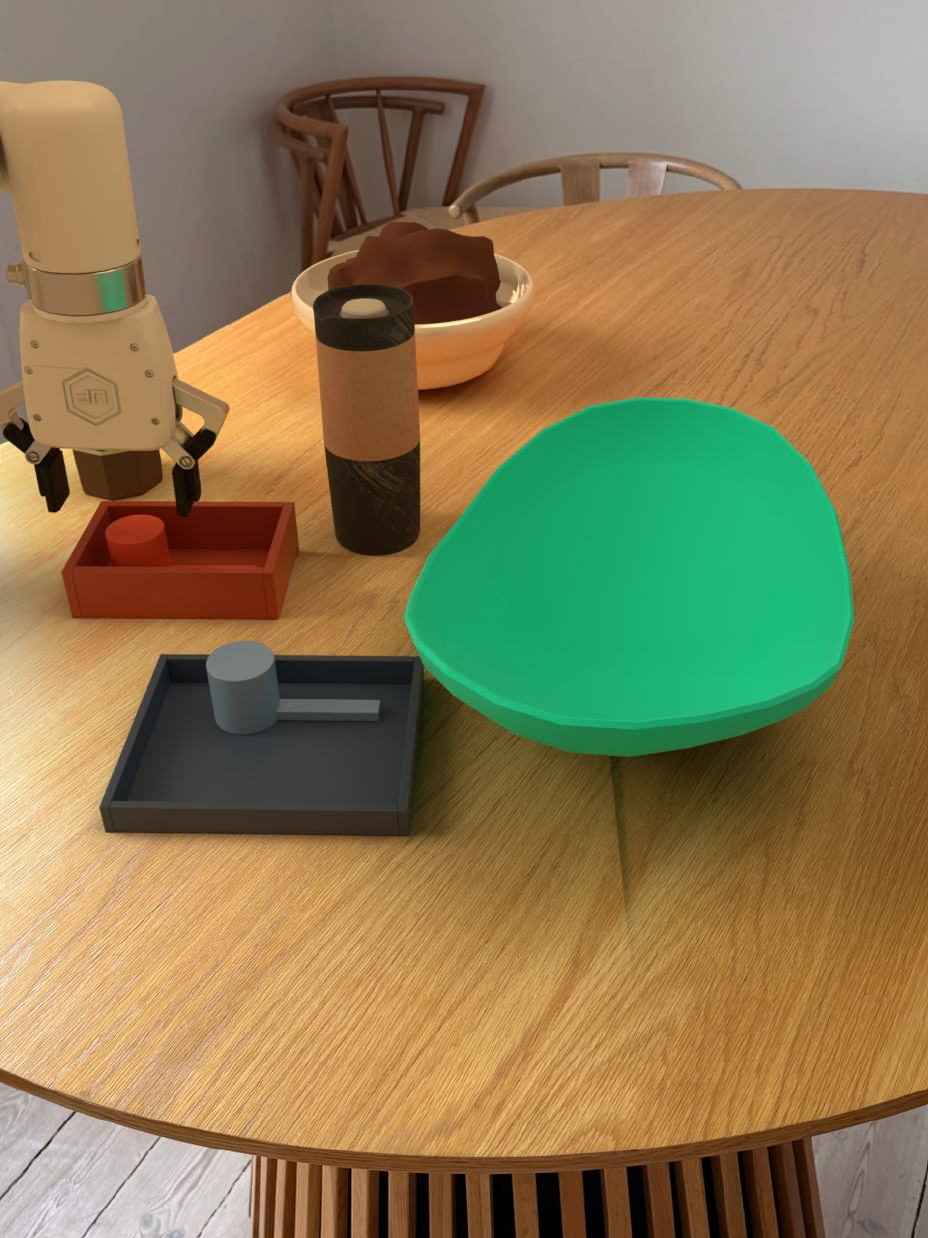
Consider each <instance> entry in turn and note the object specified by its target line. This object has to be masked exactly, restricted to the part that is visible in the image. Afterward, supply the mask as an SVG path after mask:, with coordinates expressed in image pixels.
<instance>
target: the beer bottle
mask: <svg viewBox="0 0 928 1238" xmlns="http://www.w3.org/2000/svg"><path fill="white" fill-rule="evenodd" d="M160 450H161V449H158V450H152V451H122V450H89V449H71V451H72V455H73V459H74V462H75V467H76V470H77V474H78V477H79V481H80V484H81V487H82V491H83V492H84V494H85V495H87V496H90V497H91V496H92V497H96V498H100V499H105V500H108V501H116V500H120V499H125V498H130V497H131V498H132V497H135V496H136V497H137V496H141V495H144V494H147V492H148V491H150V490H151V489H152V488H154V487H155V486H157V485H158V484H160V483H161V482H162V481H163V477H164V474H163V465H162V464H163V463H162V457H161V452H160Z"/></svg>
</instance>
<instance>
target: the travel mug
mask: <svg viewBox="0 0 928 1238" xmlns="http://www.w3.org/2000/svg"><path fill="white" fill-rule="evenodd" d="M313 312H314V321H315V334H316V339H315V344H316V360H317V371H318V386H319V397H320V411H321V425H322V436H323V448H324V455H325V463H326V472H327V480H328V488H329V495H330V496H329V498H330V505H331V512H332V520H333V527H334V534H335V538H336V540H337V542H338V543H339V545H340V546H341V547H343V548H345V549H347V550H348V551H350V552H352V553H353V552H354V553H356V554H362V555H368V556H369V555H370V556H371V555H372V556H378V555H379V556H380V555H381V556H382V555H388V554H394V553H396V552H400V551H403V550H405V549H407V548H408V547H410V546H412V545H413V544H414V543H415V542H416V541H417V540H418V539H419V536H420V533H421V428H420V427H421V426H420V405H419V403H420V402H419V390H418V383H417V362H416V341H415V320H414V302H413V298H412V296H411V295H410V294H409V293H408V292H406V291H405V290H402V289H400V288H397V287H393V286H388V285H381V284H356V285H348V286H342V287H338V288H334V289H331V290H328V291H326V292H324V293H322V294H321V295H319V296H318V297H317V298H316V299H315V301H314V303H313Z"/></svg>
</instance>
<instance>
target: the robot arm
mask: <svg viewBox="0 0 928 1238" xmlns="http://www.w3.org/2000/svg"><path fill="white" fill-rule="evenodd" d="M127 144H128V143H127V137H126V129H125V122H124V116H123V111H122V108H121V105H120V102H119V100H118V99H117V97H116V96H115V95H114V93H112V92H111V91H110V90H109V89H108V88H106V87H104V86H103V85H101V84H97V83H93V82H89V81H83V80H62V79H61V80H60V79H59V80H43V81H36V82H29V83H17V82H10V81H5V80H0V193H1V192H7V193H9V194H10V195H11V199H12V205H13V210H14V215H15V220H16V226H17V231H18V237H19V242H20V248H21V252H22V258H23V259H22V260H21V261H19V262H18V263H7V265H6V268H5V276H6V280H7V283H8V284H9V285H19V286H20V287H24V289H25V290H26V295H27V299H28V300H27V301H25V302H24V303H23V304H22V305H21V306H20V308H19V309H20V311H19V347H20V351H19V352H20V364H21V365H20V366H21V367H20V368H21V377H22V378H21V379H22V380H20V381H18V382H16V383H14V384H12V385H10V386H8V387H7V388H4V389H2V390H1V391H0V429H1V430H2V436H3V438H4V439H5V440H6V441H7V442H9V443H10V444H12V445H13V446H14V447H15V448H17V449H18V450H19V451H20V452H22V453H23V454H24V458H25V460H26V461H27V462H28V464H30V465H33V467H34V473H35V478H36V482H37V487H38V491H39V495H40V497H44V498H45V502H46V507H47V512H48V513H51V514H53V513H55V514H56V513H58V512H60V511H61V509H62V507H63V506H64V504H65V502H66V501H67V499H68V498H69V496H70V494H71V489H70V485H69V479H68V474H67V469H66V462H65V458H64V452H63V450H61V449H66V450H67V449H68V450H72V449H89V450H122V451H152V450H158V449H159V450H161V449H162V450H163V451H164V452H165V453H166V455H168V456H169V458H171V459H172V460H173V461H174V463H175V464H174V466H173V468H172V469H171V470H172V471H171V477H172V478H171V479H172V484H173V493H174V498H175V500H174V501H176V508H177V514H178V515H180V517H188V515H189V513H190V511H191V508H192V506H193V504H194V501H201V497H202V484H201V474H200V467H199V465H200V464H199V460H200V459H201V458H202V457H203V456H204V455H205V454H206V453H207V452H208V451H209V450H210V449H211V448H212V447H213V446H214V445H215V443H216V441H217V439H218V436H219V434H220V432H221V429H222V428H223V426H224V423H225V422H226V419H227V417H228V415H229V412H230V409H231V408H230V405H229V404H228V403H227V402H226V401H223V400H221V399H220V398H217V397H216V396H213V395H211V394H209V393H207V392H205V391H203V390H201V389H199V388H197V387H195V386H193V385H190V384H188V383H187V382H185V381H182V380H180V379H179V374H178V370H177V369H178V368H177V365H176V360H175V355H174V351H173V348H172V343H171V339H170V337H169V333H168V329H167V325H166V323H165V320H164V316H163V314H162V310H161V308H160V306H159V303H158V301H157V298H156V297H155V296H154V295H152V294H148V293H147V287H146V279H145V271H144V264H143V257H142V249H141V242H140V235H139V227H138V220H137V213H136V204H135V197H134V189H133V181H132V175H131V167H130V160H129V151H128V145H127ZM23 404H25V411H26V417H27V420H28V421H26V420H25V419H24V418H22V417H19V415H18V412H17V411H16V408H17V407H20V406H21V405H23ZM183 409H185V410H189V412H192V413H194V414H196V415H198V416H200V417H202V419H203V421H204V423H203V425H202V426H201V428H200V429H199V430H198V431H196V433H195V434H194V433H193V432H192V431H191V430H190V429H189V428H188V427H186V425H185V424H184V423H183V422H182V419H183V414H184V413H183V411H184V410H183Z"/></svg>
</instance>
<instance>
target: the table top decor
mask: <svg viewBox="0 0 928 1238" xmlns="http://www.w3.org/2000/svg"><path fill="white" fill-rule="evenodd" d="M844 542H845V541H844V537H843V532H842V528H841V523H840V519H839V514H838V513H837V510H836V509H835V507H834V505H833V503H832V500H831V499H830V497H829V494H828V493H827V492H826V490H825V487H824V486H823V484H822V481H821V480H820V478H819V476H818V474H817V472H816V471H815V468H814V466H813V465H812V464H811V462H810V461H809V460H808V459H806V457H805V456H803V455H802V453H800V451H798V450H797V449H796V448H795V446H793V444H792V443H791V442H789V440H787V438H785V436H783V435H782V433H780V432H779V431H778V430H777V428H775V427H774V426H771V425H770V424H767V423H766V422H764V421H761V420H759V419H756V418H755V417H753V416H750V415H748V414H746V413H744V412H742V411H740V410H738V409H735V408H734V407H729V406H725V405H719V404H714V403H709V402H705V401H699V400H695V399H690V398H673V397H645V396H644V397H643V396H642V397H641V396H638V397H632V398H626V399H621V400H615V401H609V402H603V403H599V404H593V405H589V406H587V407H585V408H583V409H581V410H578V411H576V412H575V413H573V414H571V415H569V416H567V417H564V418H563V419H561V420H559V421H557V422H554V423H552V424H551V425H549V426H547V427H544V428H543V429H541V430H540V431H539V432H538V433H537V434H535V436H533V437H532V438H531V439H529V441H527V442H526V443H525V444H524V445H523V446H521V447H520V448H519V449H518V450H517V451H516V452H514V454H512V455H511V456H509V457H508V458H507V459H506V460H505V461H504V462H502V463H501V464H500V465H499V466H498V467H497V468H495V470H494V471H493V473H492V474H491V475H490V476H489V478H488V479H487V480H486V482H485V483H484V484H483V485H482V487H481V488H480V490H479V491H478V492H477V493H476V495H475V496H474V498H473V499H472V500H471V502H469V504H468V505H467V507H466V509H465V510H464V511H463V512H462V514H460V516H459V518H458V519H456V521H455V522H454V524H453V525H452V526H451V528H449V529H448V531H447V532H446V534H445V535H444V536H443V537H442V539H441V540H440V541H439V542H438V544H437V545H436V546H435V547H434V548H433V549H432V551H431V552H430V553H429V554H428V556H427V558H426V561H425V562H424V565H423V567H422V569H421V571H420V573H419V576H418V577H417V579H416V582H415V584H414V586H413V588H412V591H411V592H410V595H409V597H408V601H407V605H406V609H405V612H404V616H403V620H404V622H405V624H406V627H407V630H408V633H409V635H410V637H411V640H412V642H413V644H414V646H415V649H416V651H417V654H418V656H420V658H421V661H422V663H423V665H424V669H426V671H428V672H429V674H431V675H432V677H434V678H435V679H436V680H437V681H438V682H439V683H440V684H441V685H442V686H443V687H444V688H445V689H446V690H447V691H448V692H449V693H450V694H451V695H452V696H453V697H455V698H457V699H458V700H460V701H462V702H463V703H465V704H466V705H468V706H469V707H471V708H472V709H474V710H475V711H477V712H479V713H480V714H482V715H484V716H485V717H486V718H488V719H489V720H492V721H493V722H495V723H496V724H498V725H500V726H501V727H503V728H505V729H506V730H507V731H509V732H511V733H512V734H514V735H516V736H518V737H521V738H524V739H527V740H530V741H534V742H536V743H539V744H543V745H546V746H549V747H551V748H555V749H558V750H561V751H564V752H568V753H571V754H572V753H573V754H585V755H597V756H598V755H599V756H612V757H614V756H615V757H625V758H626V757H627V758H633V757H638V756H645V755H651V754H659V753H665V752H671V751H677V750H685V749H690V748H694V747H698V746H703V745H706V744H711V743H716V742H718V741H720V742H721V741H723V740H727V739H733V738H737V737H740V736H744V735H747V734H749V733H752V732H754V731H757V730H760V729H762V728H765V727H768V726H772V725H774V724H777V723H780V722H782V721H783V720H785V719H787V718H789V717H792V716H793V715H795V714H797V713H799V712H801V711H803V710H805V709H806V708H807V707H808V706H810V705H811V704H812V703H813V702H815V701H816V700H817V699H819V698H820V697H821V696H822V695H823V694H825V693H826V692H827V691H828V690H830V688H831V686H832V685H833V683H834V681H835V680H836V678H837V676H838V674H839V673H840V671H841V669H842V668H843V664H844V661H845V657H846V653H847V649H848V646H849V642H850V638H851V635H852V632H853V628H854V624H855V612H854V599H853V598H854V597H853V586H852V575H851V570H850V566H849V565H850V564H849V560H848V557H847V551H846V547H845V543H844Z"/></svg>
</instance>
